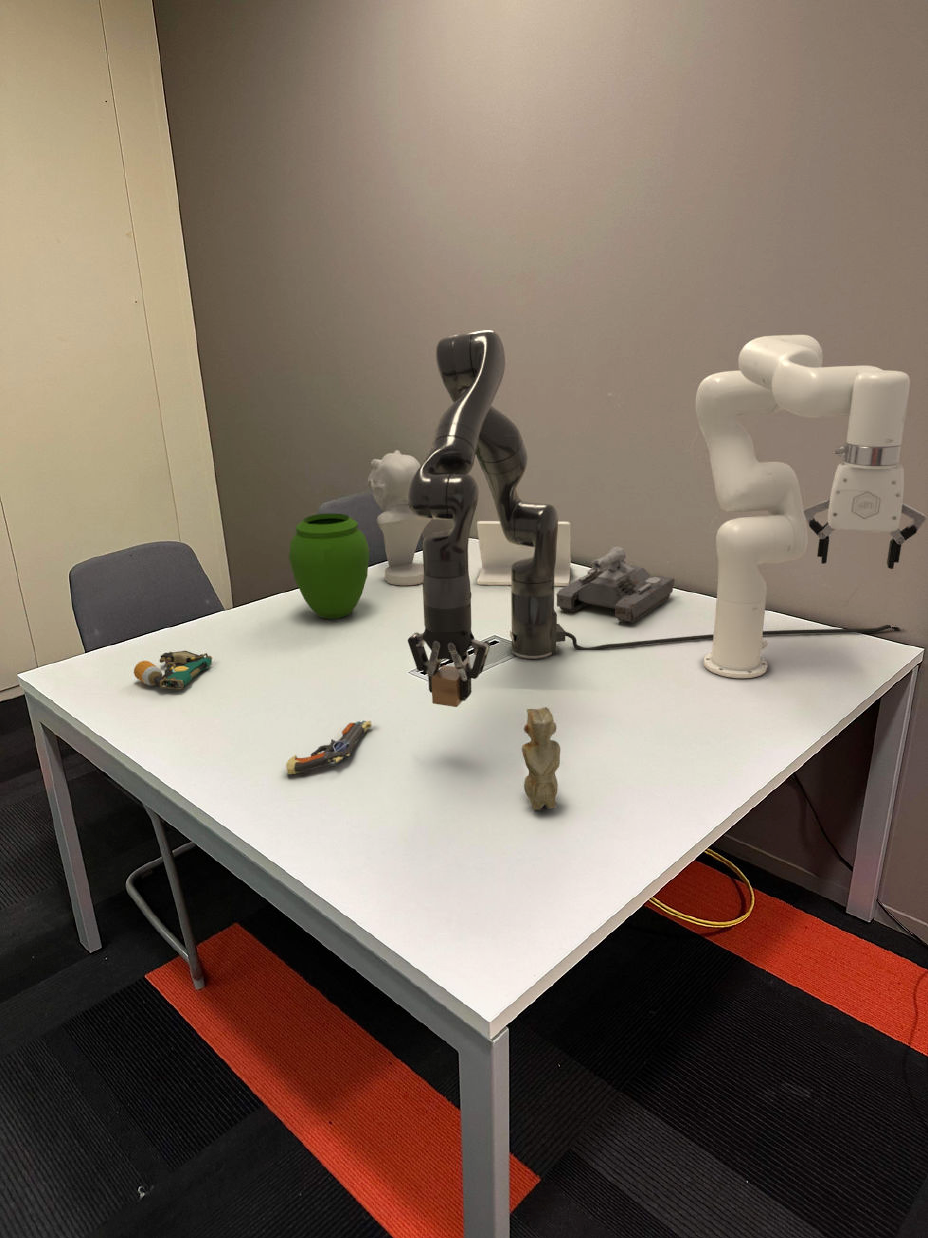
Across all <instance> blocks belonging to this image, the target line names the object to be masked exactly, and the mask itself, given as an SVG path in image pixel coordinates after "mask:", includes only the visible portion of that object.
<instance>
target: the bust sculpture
mask: <svg viewBox="0 0 928 1238" xmlns="http://www.w3.org/2000/svg"><path fill="white" fill-rule="evenodd" d="M370 463H371V467H372V470H371V473H370V474H369V475H368V479H367V483H366V484H367V486H371V490H372V492H373V499H374V501H375V503H376V504H377V505H378V507H379V508H380V510H381V511H382V512H381V513H380V514H379V515H378V516H377V518H376V523H377V525H378V528H379V529H380V531H381V532H382V534H383V535H382V536H383V542H384V550H385V554H386V559H387V564H388V566H387V567H386V568H385V569H384V579H385V582H387V583H388V584H391V585H394V586H395V585H396V586H416V585H420V584H423V578H424V568H423V563H421V562H420V563H419V562H414V557H415V555H416V554H415V553H416V550H417V546H418V544H419V541H420V538H421V536H422V533H423V531H424V530H425V528H426V527H427V525H428V524H429V523H430V522H431V521H432V520H433V519H422V518H419V517H417V516H416V515H414V514H413V512H412V511H411V509H410V507H409V504H408V490H409V486H410V483H411V481H412V479H413V477H414V475H415V473H416V472H417V470H418V469H419V467H420V466H421V465H422V464H421V463H420V462H419V461H418V460H417V459H416V458H415V457H414V456H412V455H409V454H402V453H401V451H400V450H398V449H397V450H394V452H392V453H390V452H389V453H386V454H385V455H383V457H382V458H381V459H376V458H373V459H372V460H371V462H370Z"/></svg>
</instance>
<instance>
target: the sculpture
mask: <svg viewBox="0 0 928 1238" xmlns="http://www.w3.org/2000/svg"><path fill="white" fill-rule="evenodd" d="M526 713H527V718H526V723H525V725H524V727H523V732H524V733H525V734H527V736H528V737H529V738H530V741H529V742H526V743H524V744H522V746H521V753H522V757H523V760H524V764H525V766H526V769H527V770H528V775H527V776H526V777H525V778H524V780H523V789H524V793H525V795H526V796H527V799H529V801H530V804H531V808H532V809H533V810H534V811H535V810H541V809H542V808H543V806H545V807H546V809H554V808H556V807H557V805H556V804H557V803H556V802H557V799H556V798H557V794H558V790H559V789H558V788H559V786H558V785H559V784H558V779H557V776H556V771H557V770H558V769H559V767H560V764H561V763H560V762H561V745H560V744H559V742H558V741H556V740H553V739H552V737H553V735H554V734H555V733H556V731H557V728H558V727H557V723H556V722H555V721H554V716H553V714H552V712H551V711H550V708H548V707H547V706H545V707H541V708H527V709H526Z"/></svg>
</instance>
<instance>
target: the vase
mask: <svg viewBox="0 0 928 1238" xmlns="http://www.w3.org/2000/svg"><path fill="white" fill-rule="evenodd" d="M358 524H359V523H358V521H356V520H355V519H353V518H352V517H350V516H349V515H347V514H344V513H335V512H334V513H333V512H331V513H320V514H313V515H310V516H307V517H305V518H303V519H302V520H301V521H300V522H299V523H298V524H297V525H296V526H295V532H296V533H295V534H294V536H293V537H292V538H291V540H290V542H289V551H288V559H289V564H290V566H291V567H290V568H291V570H292V575H293V578H294V581H295V584H296V586H297V587H298V589H299V591H300V593H301V596H302V597H303V600H304V601H305V603H306V604H307V605H308V607H309V608H310V609H311V611H312V612H314V613H315V614H316V615H317V616H318V617H320V618H324V619H326V620H327V619H329V620H336V619H341V618H345V617H347V616H349V615H350V614H351V613H352V612H353V611H354V610H355V608H356V607H357V605H358V604H359V601H360V599H361V597H362V595H363V592H364V588H365V586H366V581H367V578H368V570H369V561H370V560H369V559H370V548H369V545H368V541H367V537H366V535H365V534H364V533H363V532H362V531H361V530H360V529H359V527H358Z"/></svg>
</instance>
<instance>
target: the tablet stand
mask: <svg viewBox="0 0 928 1238" xmlns="http://www.w3.org/2000/svg"><path fill="white" fill-rule="evenodd" d="M476 531H477V537H478V544H479V551H480V557H481V558H480V559H481V570H480V573H479V575H478V577H477V580H476V581H477V582H476V584H478V585H484V586H485V585H486V586H487V585H489V586H490V585H491V586H511V567H512V565H513V563H515V562H516V561H519V560H522V559H525V558H530V557H533V556H534V550H535V547H527V546H519V545H514V544H512V543H510V542H508V541H507V539H506V538H505V536H504V534H503V531H502V528H501V524H500V521H499V520H477V522H476ZM571 560H572V558H571V522H569V521H558V534H557V549H556V564H555V571H554V587H556V586H557V587H566V586H567V585H569V584H570V580H571V579H570V578H571V565H572V564H571Z"/></svg>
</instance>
